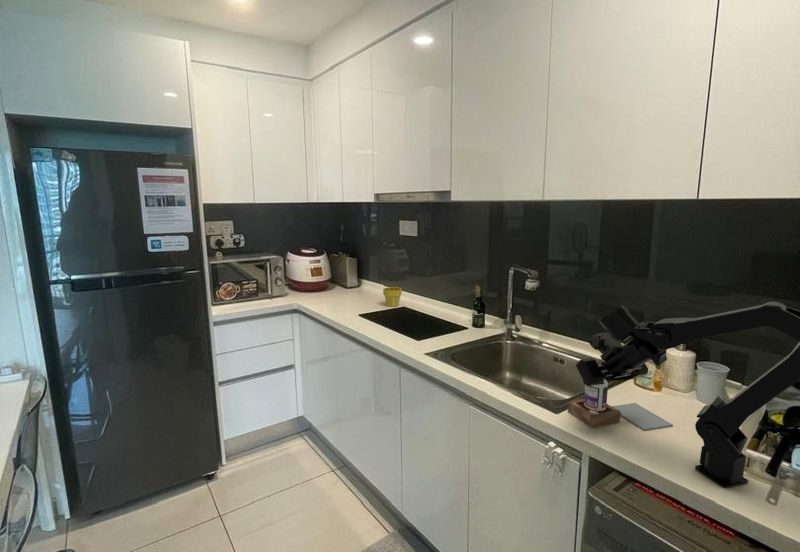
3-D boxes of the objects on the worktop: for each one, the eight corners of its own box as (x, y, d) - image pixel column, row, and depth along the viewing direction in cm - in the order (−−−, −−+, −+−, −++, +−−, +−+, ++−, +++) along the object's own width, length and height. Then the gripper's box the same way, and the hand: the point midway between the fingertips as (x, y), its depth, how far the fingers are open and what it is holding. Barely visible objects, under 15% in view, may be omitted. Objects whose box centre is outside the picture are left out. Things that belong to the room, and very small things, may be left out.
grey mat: (672, 426, 103) (672, 424, 103) (643, 431, 101) (644, 429, 101) (635, 404, 115) (635, 402, 115) (608, 408, 113) (608, 406, 113)
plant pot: (385, 308, 223) (385, 291, 221) (381, 304, 233) (381, 287, 231) (403, 307, 225) (403, 290, 224) (399, 303, 235) (399, 286, 234)
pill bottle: (599, 401, 110) (602, 367, 109) (610, 411, 105) (613, 376, 103) (579, 402, 110) (582, 368, 108) (589, 411, 105) (592, 376, 103)
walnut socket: (619, 422, 105) (620, 411, 105) (592, 428, 102) (593, 417, 102) (593, 406, 114) (594, 396, 113) (567, 411, 111) (568, 401, 110)
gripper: (642, 322, 103) (604, 349, 115) (584, 329, 97) (550, 357, 109) (668, 362, 97) (625, 387, 109) (608, 372, 91) (569, 397, 103)
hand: (592, 381), depth 108 cm, fingers closed on pill bottle, 5 cm apart
